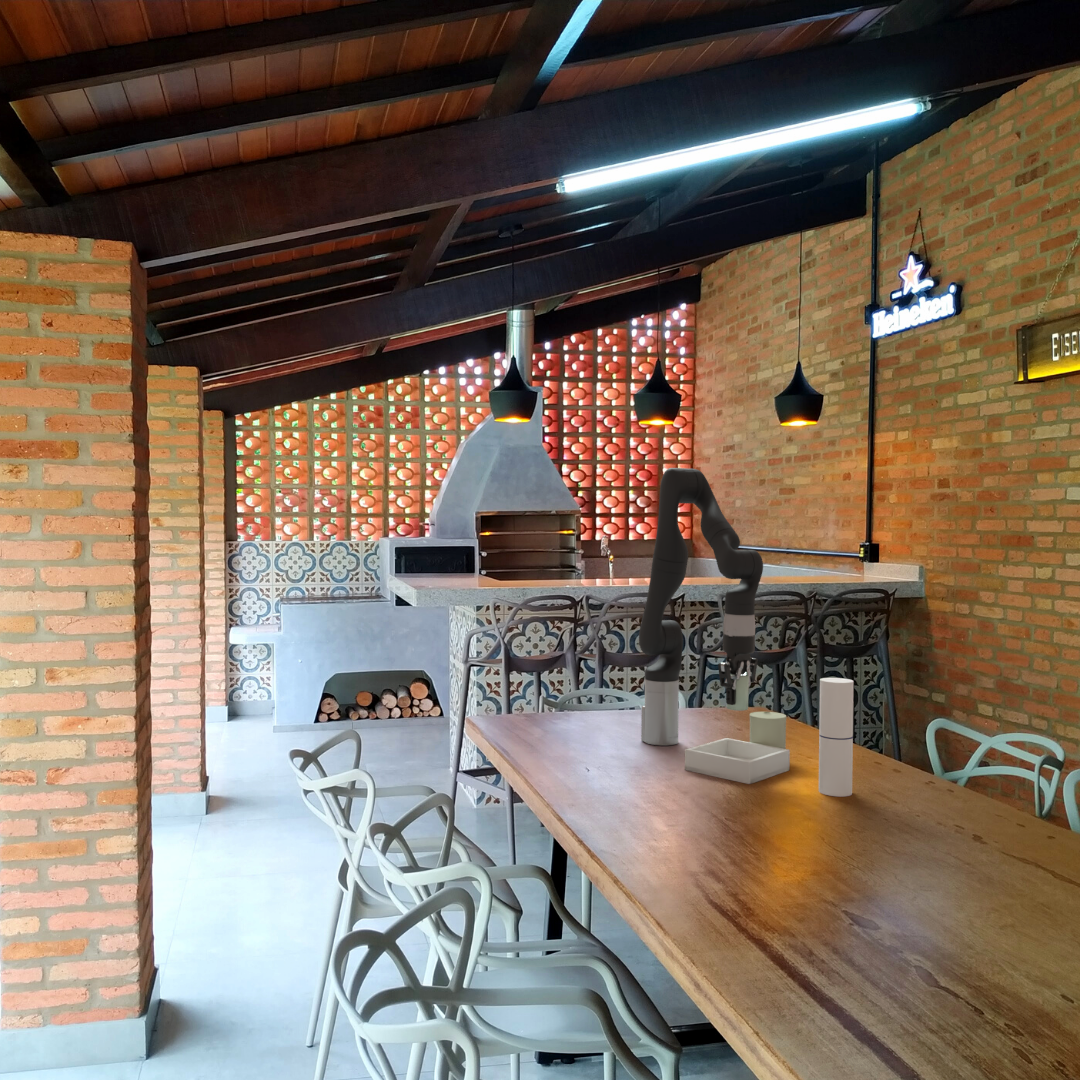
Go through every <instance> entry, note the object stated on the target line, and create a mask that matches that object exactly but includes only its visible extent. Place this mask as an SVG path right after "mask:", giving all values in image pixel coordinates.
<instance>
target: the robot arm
mask: <svg viewBox="0 0 1080 1080" xmlns="http://www.w3.org/2000/svg"><path fill="white" fill-rule="evenodd" d="M658 499H659V501H658V502H659V504H658V517H657V518H658V519H657V520H658V521H657V529H656V537H655V538H656V539H655V545H654V550H653V553H652V554H653V555H652V562H651V569H650V570H651V571H650V577H649V578H650V579H649V586H648V590H647V596H646V602H645V605H644V610H643V614H642V618H641V622H640V627H639V633H638V643H639V648H640V650H641V652H642V653H643V654H645V655H648V656H657V655H659V657H658V659H657V661H655V662H654V663H653V664H651V665H649V666H647V667H646V668H645V670H644V705H642V706H641V714H640V715H641V717H640V718H641V723H640V724H641V727H640V728H641V730H640V733H641V734H640V737H641V738H640V739H641V742H644V743H645V744H649V745H652V746H654V745H655V746H674V745H677V744H679V716H680V715H679V714H680V713H679V710H680V707H679V705H680V704H679V702H680V701H679V700H680V697H679V695H680V694H679V692H680V691H679V689H680V684H679V683H680V682H679V681H680V672H681V669H682V659H683V646H684V639H683V638H684V637H683V631H682V628H681V625H680V624H679V622H677V621H676V620H671V619H668V620H667V619H666V620H665V619H663V617H664V614H665V610H666V608H667V606H668V604H669V602H670V601H671V599H673V597H674V595H675V594H676V592H677V591H678V589H679V588H680V587H681V585H682V584H683V582H684V580H685V577H686V573H687V567H688V560H689V551H688V546H687V544H686V541H685V539H684V536H683V534H682V532H681V529H680V527H679V522H678V521H679V520H678V517H679V516H678V515H679V514H678V512H679V504H693V505H694V506H696V507H697V508H698V509H699V511H700V512H701V517H700V530H701V533H702V536H703V538H704V539H705V540H706V542H707V543H708V545H709V546H710V548H711V549H712V550H713V554H714V555H713V556H714V557H715V561H716V565H717V569H718V571H719V572H720V574H721V575H722V576H723V577H725V578H726V579H728V580H740V581H739V583H738V586H736V587H734V588H730V589H728V590H727V591H725V592H726V593H725V597H724V618H723V623H722V624H723V626H722V627H723V629H722V651H723V652H724V653H726V657H725V658H726V659H725V661H724V662H718V664H717V666H718V675H719V684H720V687H722V688H724V689H726V691H725V693H726V694H725V699H726V700H725V702H726V705H727V704H729V705H735V704H736V689H735V688H736V684H737V681H738V680H739V679H740V675H741V674H744V675H748V676H749V688H750V686H751V683H755V681H756V680H755V679H756V674H757V667H758V661H759V660H758V658H755V657H751V654H754V652H755V651H756V649H755V647H756V645H755V644H756V620H755V619H756V618H755V611H756V609H755V607H756V603H755V602H756V601H755V600H756V595H757V593H758V589H759V585H760V583H761V579H762V575H763V572H764V562H763V557H762V555H761V554H760V553H759V552H758V551H757V550H756V549H739V547H740V544H741V539H740V537H739V535H738V534H737V532H736V531H735V529H734V528H733V526H732V525H731V523H729V521H728V520H727V518H726V517H725V515H724V514H723V512H722V509H721V508H720V505H719V503H718V501H717V499H716V496H715V495H714V492H713V490H712V487H711V485H710V483H709V482H708V479H707V478H706V476H705V475H704V473H703V472H702V471H700V470H699V469H696V468H689V467H688V468H685V467H684V468H683V467H670V468H667V469H666V470H665V471H664V473H663V474H662V477H661V481H660V487H659V498H658ZM731 675H735V676H731ZM731 679H733V682H731ZM749 688H748V698H749V693H750V692H749V691H750V690H749Z"/></svg>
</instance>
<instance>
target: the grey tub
mask: <svg viewBox="0 0 1080 1080" xmlns="http://www.w3.org/2000/svg"><path fill="white" fill-rule="evenodd" d="M790 752H791V750H790V749H787V748H786V749H783V748H778V747H772V746H767V745H762V744H756V743H751V742H750V741H743V740H739V739H734V738H728V737H725V738H724V737H723V738H722V739H717V740H713V741H711V742H707V743H703V744H700V745H695V746H692V747H690V748H684V770H685V771H686V772H687V771H688V772H693V773H696V774H702V775H706V776H711V777H715V778H720V779H723V780H729V781H734V782H738V783H743V784H747V785H751V784H754V783H757V782H761V781H763V780H766V779H768V778H771V777H775V776H777V775H781V774H783V773H786V772H788V771H790V761H791V760H790V759H791V758H790V757H791V756H790Z"/></svg>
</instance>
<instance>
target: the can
mask: <svg viewBox="0 0 1080 1080" xmlns="http://www.w3.org/2000/svg"><path fill="white" fill-rule="evenodd" d="M786 739H787V715H786V714H784V713H781V712H777V711H776V712H775V711H753V712H750V713H749V742H751V743H756V744H762V745H767V746H772V747H778V748H783V749H787V748H786V743H787V742H786V741H787V740H786Z"/></svg>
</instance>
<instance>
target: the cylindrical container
mask: <svg viewBox="0 0 1080 1080" xmlns="http://www.w3.org/2000/svg"><path fill="white" fill-rule="evenodd" d="M818 725H819V731H818V733H819V734H818V735H819V737H818V738H819V739H818V740H819V743H818V747H819V748H818V792H819V793H820V794H822V795H826V796H830V797H841V798H842V797H850V796H852V795H853V758H854V757H853V753H854V752H853V749H854V748H853V747H854V746H853V745H854V743H853V742H854V740H853V739H854V680H852V679H849V678H842V677H822V678H820V679H819V724H818Z"/></svg>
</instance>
